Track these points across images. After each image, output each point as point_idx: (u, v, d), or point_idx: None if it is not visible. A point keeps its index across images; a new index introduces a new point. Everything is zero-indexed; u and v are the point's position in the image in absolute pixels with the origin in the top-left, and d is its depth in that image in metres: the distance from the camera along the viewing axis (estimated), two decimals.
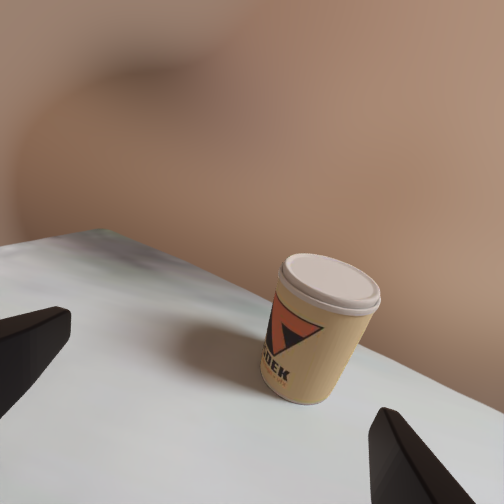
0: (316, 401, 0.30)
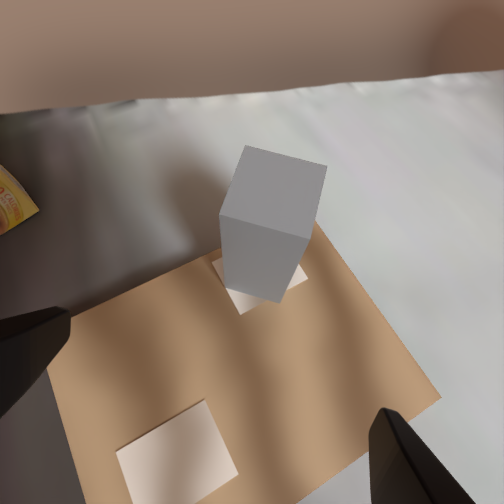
0: None
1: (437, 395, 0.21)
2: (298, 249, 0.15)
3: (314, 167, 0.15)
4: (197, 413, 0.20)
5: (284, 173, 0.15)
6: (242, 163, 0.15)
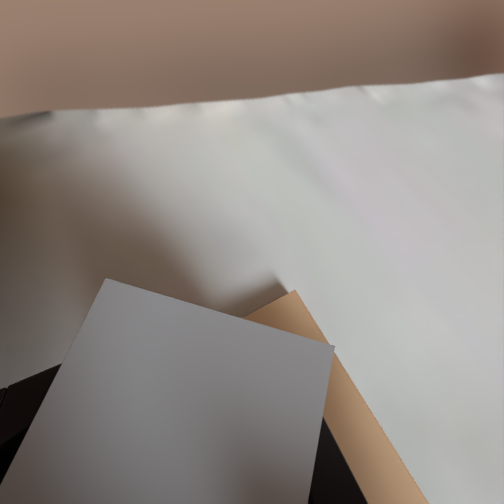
0: None
1: None
2: None
3: (296, 350, 0.05)
4: None
5: (206, 378, 0.05)
6: (84, 344, 0.05)
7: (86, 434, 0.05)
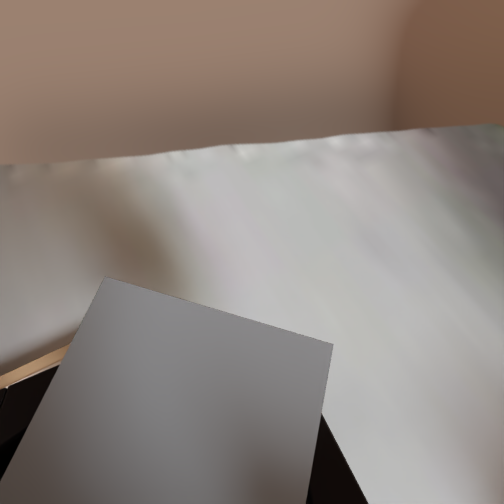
0: None
1: None
2: None
3: (296, 348, 0.05)
4: None
5: (205, 376, 0.05)
6: (83, 342, 0.05)
7: (85, 432, 0.05)
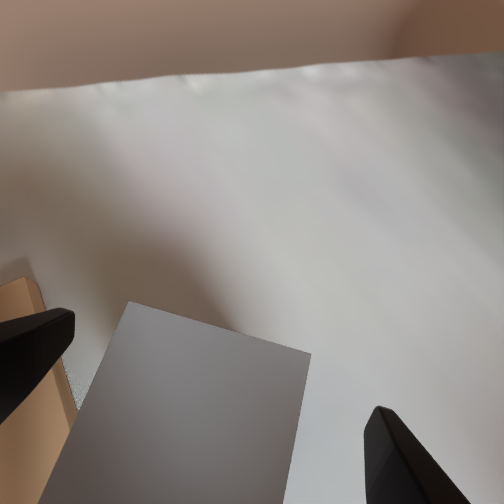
0: None
1: None
2: None
3: (282, 357, 0.07)
4: None
5: (210, 380, 0.06)
6: (114, 354, 0.06)
7: (118, 424, 0.06)
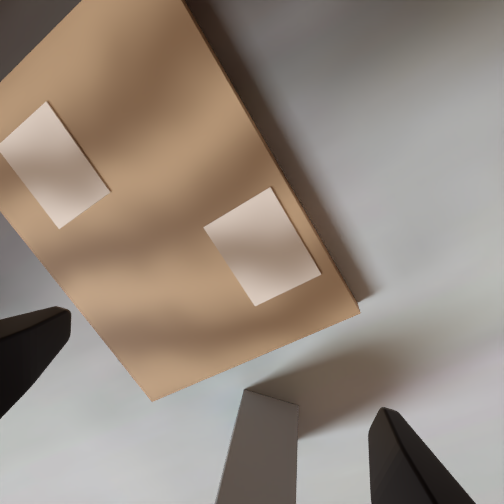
0: None
1: (153, 399, 0.23)
2: None
3: None
4: (97, 185, 0.18)
5: None
6: None
7: None
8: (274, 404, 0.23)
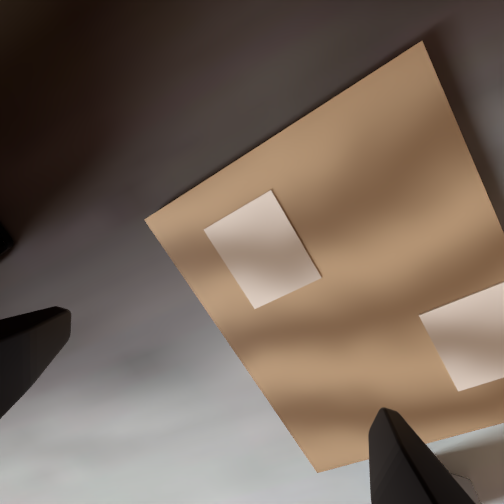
0: None
1: (319, 470, 0.23)
2: None
3: None
4: (307, 270, 0.18)
5: None
6: None
7: None
8: None
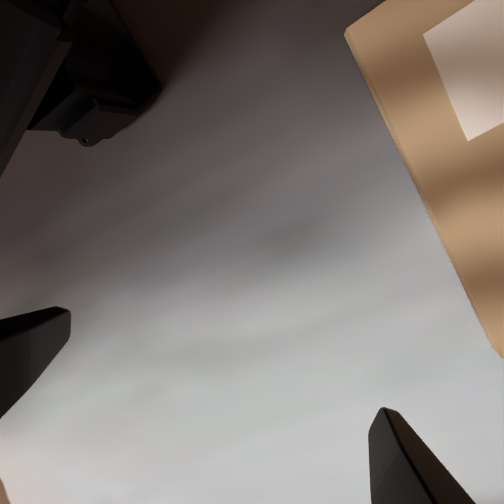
0: None
1: None
2: None
3: None
4: None
5: None
6: None
7: None
8: None
